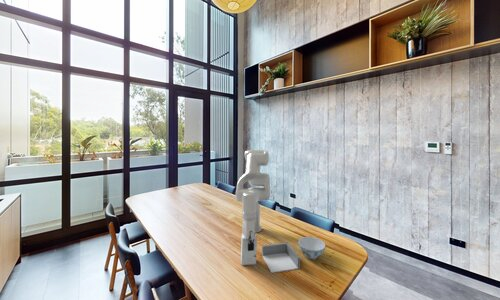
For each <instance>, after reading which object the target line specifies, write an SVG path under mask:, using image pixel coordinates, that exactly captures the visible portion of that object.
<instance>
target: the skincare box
mask: <svg viewBox="0 0 500 300" xmlns="http://www.w3.org/2000/svg"><path fill="white" fill-rule="evenodd" d="M249 237H251V236H249ZM250 240H251V239H250ZM240 241H241V243H240V244H241V245H240V263H241V264H240V265H241V266H246V265H247V266H249V265H256V264H257V246H258V237H257V233H255V237H254V250H253V251H248V243H249V242H248V239H246V238H245V237H244V235H243V233H241V240H240Z"/></svg>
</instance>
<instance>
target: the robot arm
mask: <svg viewBox="0 0 500 300" xmlns="http://www.w3.org/2000/svg"><path fill="white" fill-rule="evenodd" d="M243 156H244V160H245V169H244V171H245V172H244V173H243V175H241V176H240V177H239V179H238V181H237V183H236V189H235V200H236V201H237V202H241V203H242V204H241V205H242V206H241V211H242V212H241V215H242V216H241V219H242V227H241V228H242V229H241V230H242V231H241V232H242V234H243V235H244V237H245V238H246V239H248V242H249V243H248V251H253V250H254V237H255V234H257V233H259V232H261V231H262V230H263V227H262V226H261V205H260V203H259V202H260V201H262V202H267V201H269V200H270V198H271V178H270V175H269V173H266V172H261V167H264V166H266V167H267V166H268V164H269V163H270V162H269V160H270V154H269V151H268V150H264V149H260V150H259V149H249V150H244V154H243ZM247 182H248V184H249V185H250V186H253V187H248V188H242V186H243V185H244V184H246V183H247ZM256 186H257V187H256ZM249 236H251V237H249ZM250 239H251V240H250Z"/></svg>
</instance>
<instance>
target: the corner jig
mask: <svg viewBox="0 0 500 300" xmlns="http://www.w3.org/2000/svg"><path fill="white" fill-rule="evenodd" d="M261 257H262V259H263V261H264V262H265V264H266V266H267V268H268V269H269V271H270V273H271V274H275V273H281V272H288V271H295V270H299V269H301V257H300V255H299V254H298V253H297V252H296V250H294V248H293V247H292V246H291V244H289V242H288V241H287V242H281V243H280V242H279V243H271V244H263V245H261Z"/></svg>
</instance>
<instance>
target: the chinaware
mask: <svg viewBox="0 0 500 300" xmlns="http://www.w3.org/2000/svg"><path fill="white" fill-rule="evenodd" d="M298 246H299V250H300V251H301V252H302V254H304V255H305V257H306V258H308V259H310V260H315V259H318V257H320V256H322V255H323V253H324V252H325V249H326V243H325V242H324V241H323V240H321V239H320V238H316V237H312V236H303V237H301V238H299V240H298Z"/></svg>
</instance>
